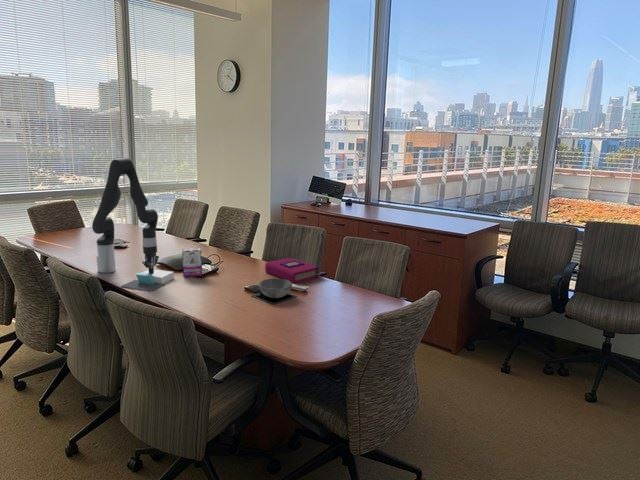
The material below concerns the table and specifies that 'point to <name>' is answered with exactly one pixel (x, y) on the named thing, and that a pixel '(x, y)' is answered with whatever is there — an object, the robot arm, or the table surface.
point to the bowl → (275, 287)
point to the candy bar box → (192, 262)
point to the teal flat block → (145, 278)
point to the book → (292, 270)
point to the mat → (142, 285)
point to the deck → (161, 276)
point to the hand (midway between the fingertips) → (151, 273)
